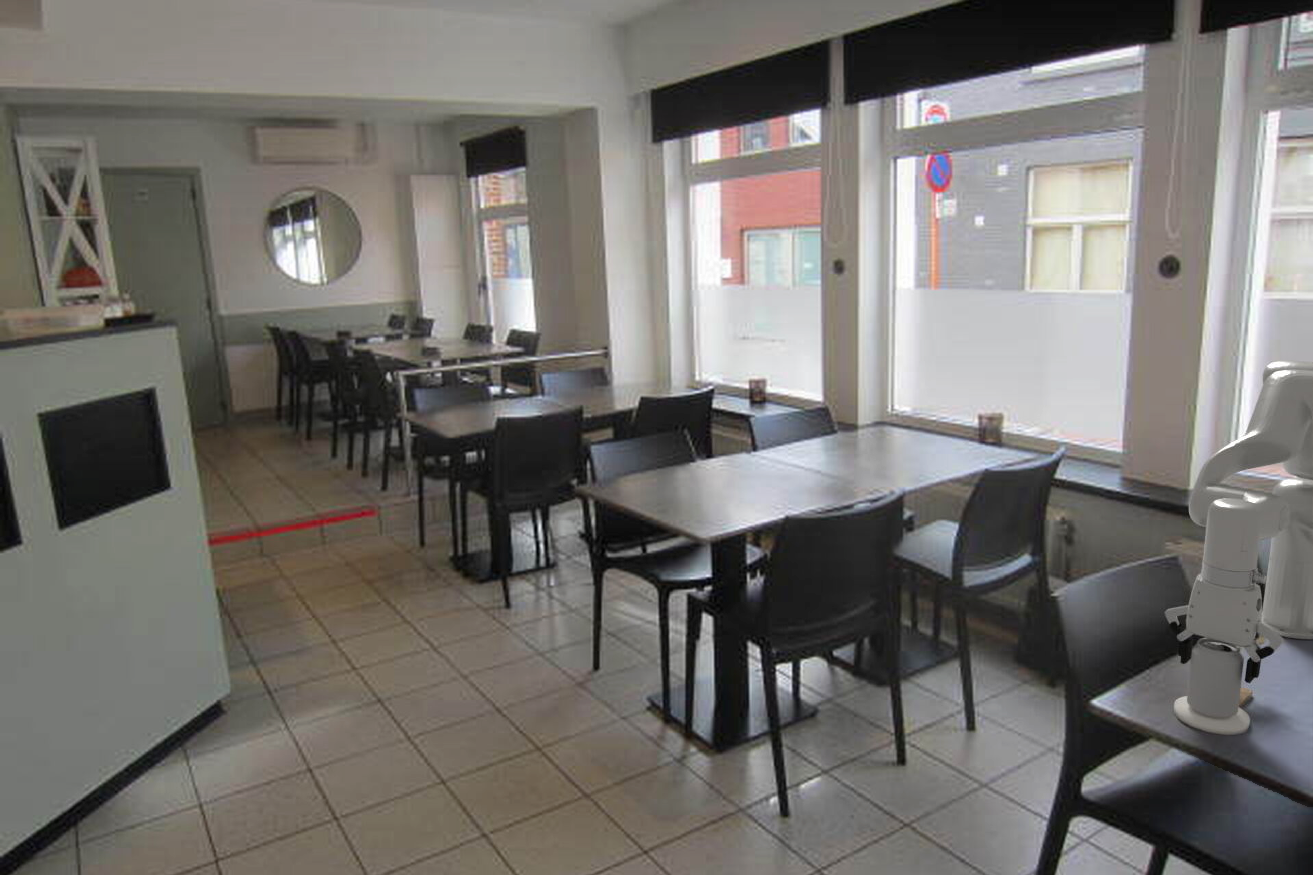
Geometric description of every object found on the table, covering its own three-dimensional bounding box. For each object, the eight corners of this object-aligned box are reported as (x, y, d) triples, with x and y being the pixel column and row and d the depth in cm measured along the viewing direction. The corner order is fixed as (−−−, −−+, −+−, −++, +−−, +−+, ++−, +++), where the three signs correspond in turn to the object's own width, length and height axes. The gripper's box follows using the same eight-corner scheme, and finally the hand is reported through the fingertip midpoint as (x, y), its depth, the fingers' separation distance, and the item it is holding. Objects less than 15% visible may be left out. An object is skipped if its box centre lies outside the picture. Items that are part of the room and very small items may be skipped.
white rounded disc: (1186, 695, 164) (1187, 689, 163) (1257, 717, 156) (1258, 711, 156) (1163, 717, 156) (1164, 711, 156) (1237, 742, 148) (1238, 735, 148)
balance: (1226, 676, 170) (1234, 607, 168) (1263, 687, 166) (1272, 616, 163) (1201, 701, 162) (1209, 629, 159) (1239, 713, 157) (1249, 639, 154)
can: (1245, 722, 152) (1253, 654, 149) (1196, 719, 153) (1203, 652, 151) (1226, 701, 159) (1233, 636, 157) (1179, 698, 160) (1185, 633, 158)
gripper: (1296, 581, 147) (1283, 679, 151) (1178, 556, 159) (1169, 647, 163) (1283, 594, 142) (1270, 696, 146) (1162, 567, 155) (1153, 661, 158)
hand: (1217, 670), depth 155 cm, fingers open, 9 cm apart
